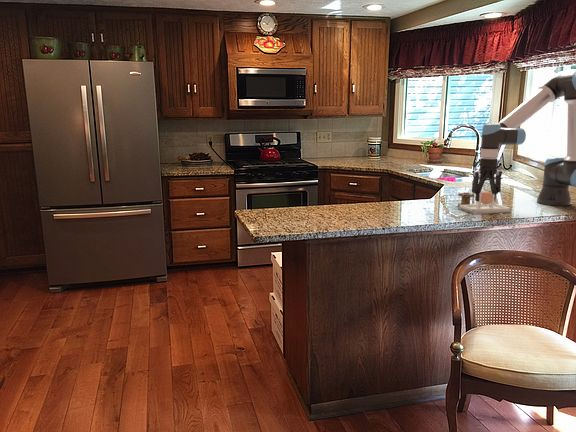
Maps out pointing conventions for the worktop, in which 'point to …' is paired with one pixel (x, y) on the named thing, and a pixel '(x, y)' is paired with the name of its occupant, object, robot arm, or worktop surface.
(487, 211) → the tray
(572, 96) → the robot arm
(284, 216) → the worktop surface
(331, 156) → the worktop surface
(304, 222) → the worktop surface
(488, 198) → the ball
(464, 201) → the pedestal
